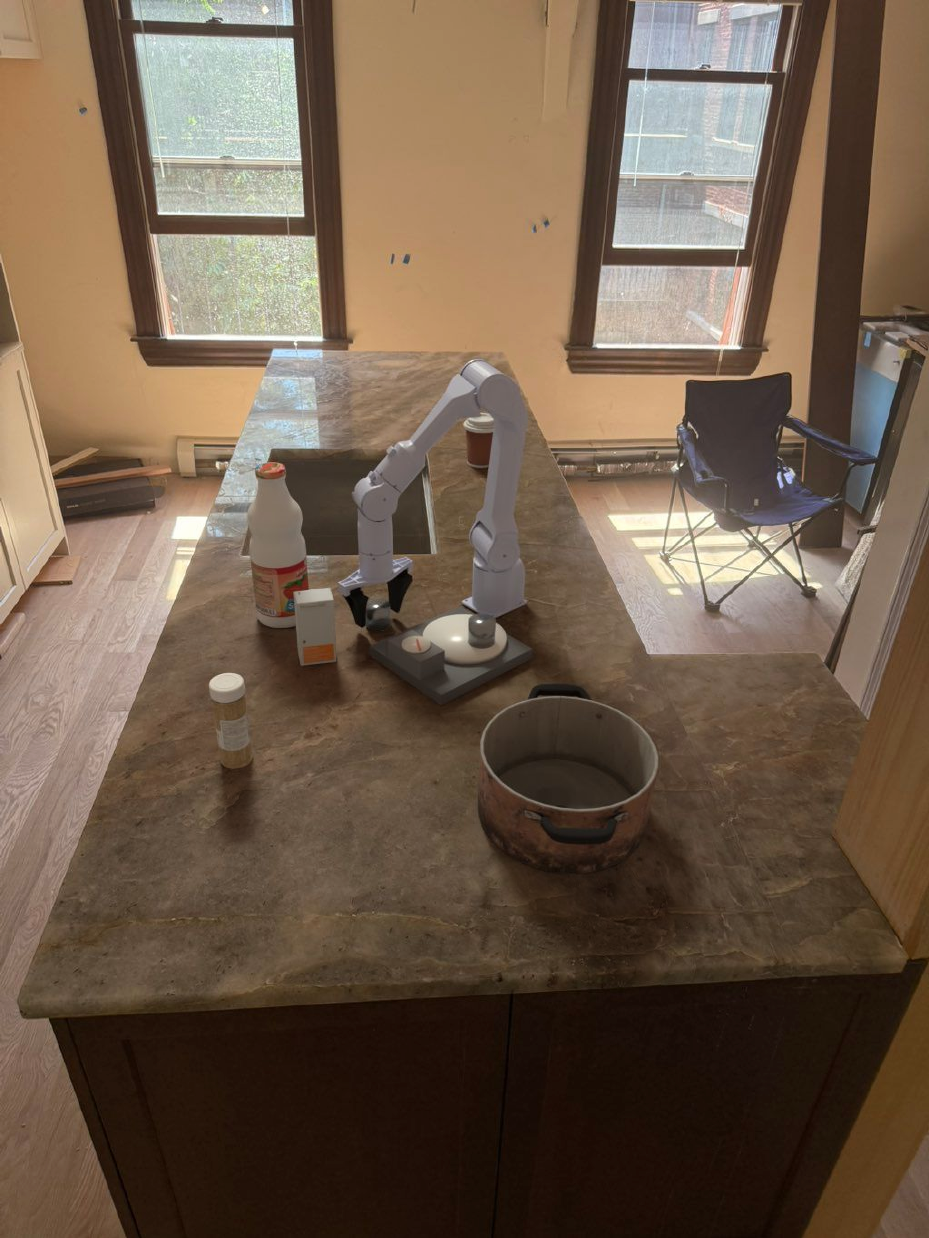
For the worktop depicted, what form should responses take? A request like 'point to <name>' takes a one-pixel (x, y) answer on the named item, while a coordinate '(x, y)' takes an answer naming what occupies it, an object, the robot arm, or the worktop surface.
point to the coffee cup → (479, 440)
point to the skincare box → (315, 626)
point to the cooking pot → (565, 781)
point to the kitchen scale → (448, 656)
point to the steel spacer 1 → (378, 615)
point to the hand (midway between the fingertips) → (377, 617)
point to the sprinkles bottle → (231, 720)
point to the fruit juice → (276, 548)
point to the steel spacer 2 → (481, 631)
